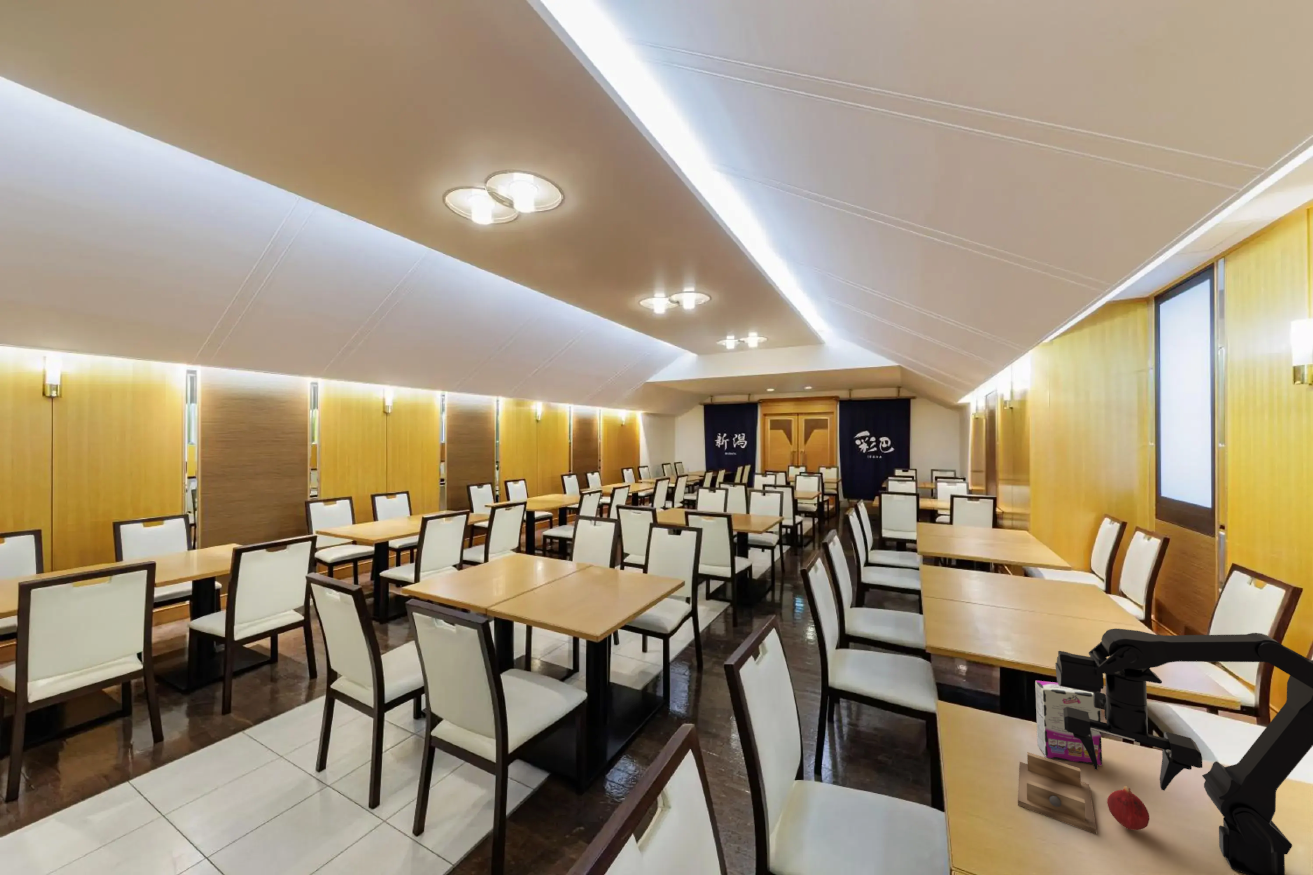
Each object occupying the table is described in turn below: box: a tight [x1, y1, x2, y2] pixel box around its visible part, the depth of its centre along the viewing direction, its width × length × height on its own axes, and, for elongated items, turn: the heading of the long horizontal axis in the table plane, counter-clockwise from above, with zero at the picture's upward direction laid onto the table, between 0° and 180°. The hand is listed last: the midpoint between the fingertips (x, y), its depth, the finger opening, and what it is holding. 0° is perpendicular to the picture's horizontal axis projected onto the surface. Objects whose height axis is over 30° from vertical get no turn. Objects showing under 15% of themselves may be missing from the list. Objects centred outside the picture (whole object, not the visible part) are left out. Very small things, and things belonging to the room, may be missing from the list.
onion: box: [1106, 785, 1150, 831], centre depth 92 cm, size 6×6×8 cm
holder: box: [1017, 751, 1097, 835], centre depth 101 cm, size 12×15×4 cm
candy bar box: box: [1034, 680, 1103, 766], centre depth 114 cm, size 11×5×16 cm, turn 73°
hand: (1128, 778), depth 92 cm, fingers open, 9 cm apart
